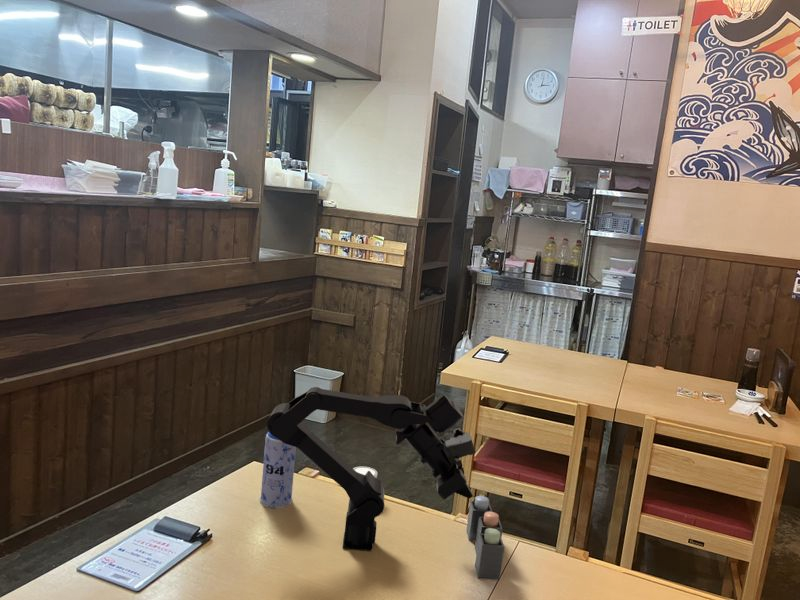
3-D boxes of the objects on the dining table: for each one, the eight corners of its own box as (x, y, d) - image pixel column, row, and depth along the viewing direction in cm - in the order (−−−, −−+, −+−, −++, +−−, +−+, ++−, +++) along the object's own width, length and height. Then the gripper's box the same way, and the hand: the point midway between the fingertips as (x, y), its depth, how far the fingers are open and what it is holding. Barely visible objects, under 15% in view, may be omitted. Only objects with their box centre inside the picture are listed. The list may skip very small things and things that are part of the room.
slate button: (475, 511, 148) (476, 501, 148) (473, 504, 151) (474, 495, 151) (488, 512, 148) (490, 502, 148) (486, 505, 151) (487, 496, 151)
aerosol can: (255, 505, 154) (261, 426, 151) (266, 491, 162) (272, 415, 159) (286, 510, 153) (293, 431, 150) (296, 496, 161) (302, 420, 158)
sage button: (484, 546, 133) (486, 535, 133) (482, 538, 136) (484, 527, 136) (500, 547, 133) (501, 536, 133) (497, 539, 137) (498, 528, 136)
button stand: (477, 578, 134) (482, 544, 133) (466, 530, 153) (470, 500, 152) (504, 580, 134) (509, 547, 133) (489, 532, 153) (493, 502, 152)
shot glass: (371, 505, 160) (374, 479, 159) (345, 500, 161) (347, 474, 160) (377, 494, 167) (380, 468, 166) (352, 489, 168) (355, 464, 167)
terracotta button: (484, 528, 141) (485, 518, 140) (482, 520, 144) (483, 511, 144) (498, 529, 141) (499, 519, 141) (496, 522, 144) (497, 512, 144)
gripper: (461, 438, 129) (507, 494, 131) (452, 408, 148) (493, 457, 150) (418, 471, 130) (465, 526, 132) (414, 437, 149) (455, 486, 151)
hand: (471, 496), depth 141 cm, fingers closed
